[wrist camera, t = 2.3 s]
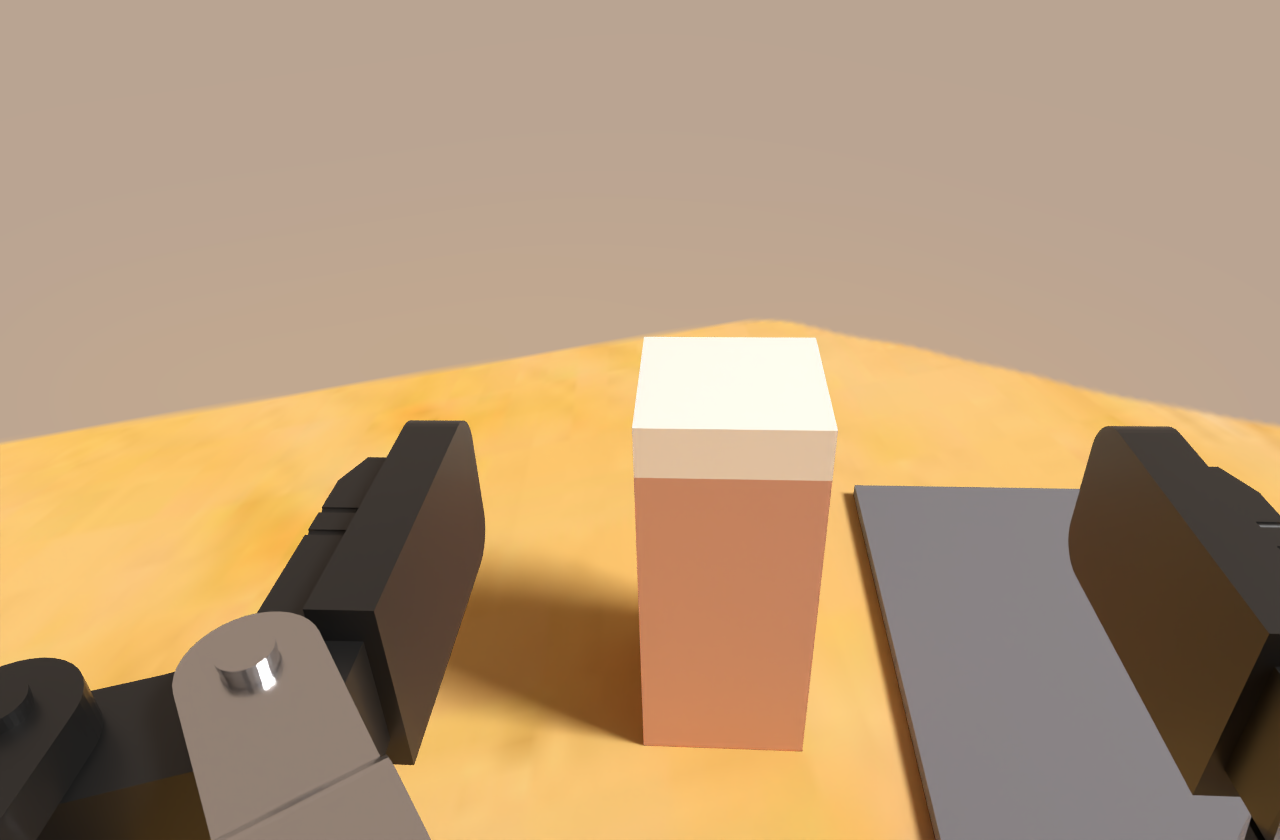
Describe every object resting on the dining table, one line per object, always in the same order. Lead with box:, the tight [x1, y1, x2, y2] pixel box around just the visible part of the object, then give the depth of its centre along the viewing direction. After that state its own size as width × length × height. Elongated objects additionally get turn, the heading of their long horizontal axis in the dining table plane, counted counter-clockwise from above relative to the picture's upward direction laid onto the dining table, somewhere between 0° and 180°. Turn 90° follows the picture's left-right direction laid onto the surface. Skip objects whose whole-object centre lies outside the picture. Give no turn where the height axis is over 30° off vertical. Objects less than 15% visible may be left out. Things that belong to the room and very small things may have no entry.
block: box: [632, 337, 838, 751], centre depth 27 cm, size 5×5×12 cm
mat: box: [854, 485, 1250, 840], centre depth 30 cm, size 14×18×1 cm
